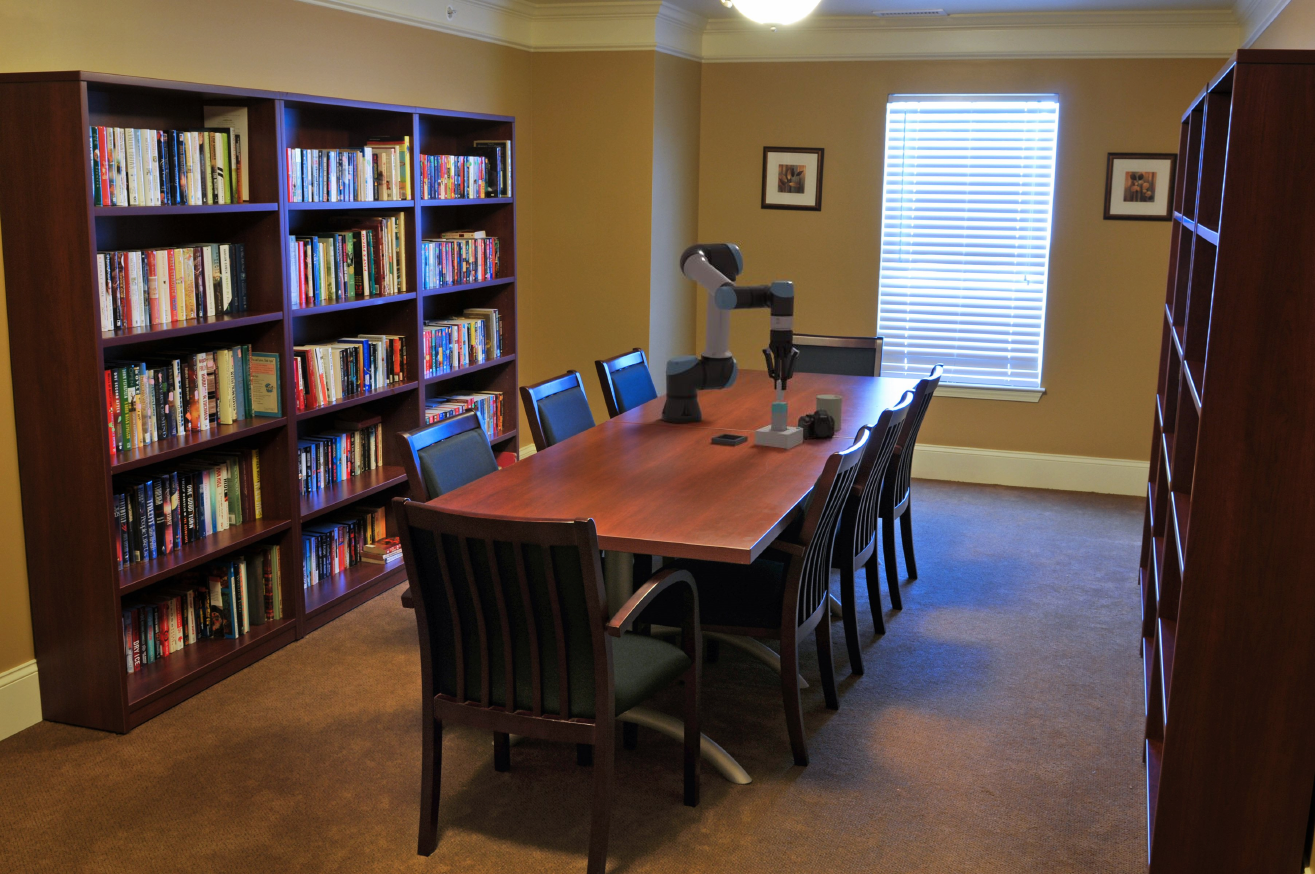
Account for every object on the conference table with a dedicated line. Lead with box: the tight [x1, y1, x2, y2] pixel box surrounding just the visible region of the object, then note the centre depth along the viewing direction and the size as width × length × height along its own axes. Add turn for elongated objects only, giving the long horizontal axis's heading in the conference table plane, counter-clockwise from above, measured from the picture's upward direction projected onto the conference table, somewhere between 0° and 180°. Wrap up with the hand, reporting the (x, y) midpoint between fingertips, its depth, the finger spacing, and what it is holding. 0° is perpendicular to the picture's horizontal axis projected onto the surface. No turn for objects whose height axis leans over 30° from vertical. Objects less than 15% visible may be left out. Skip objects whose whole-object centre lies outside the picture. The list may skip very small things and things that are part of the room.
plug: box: [770, 401, 789, 432], centre depth 368 cm, size 4×4×13 cm
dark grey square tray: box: [710, 433, 749, 447], centre depth 371 cm, size 9×9×2 cm
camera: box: [797, 409, 835, 441], centre depth 379 cm, size 13×10×10 cm
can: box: [815, 394, 843, 432], centre depth 394 cm, size 9×9×12 cm
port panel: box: [754, 424, 804, 450], centre depth 369 cm, size 12×12×5 cm
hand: (780, 399), depth 366 cm, fingers closed
